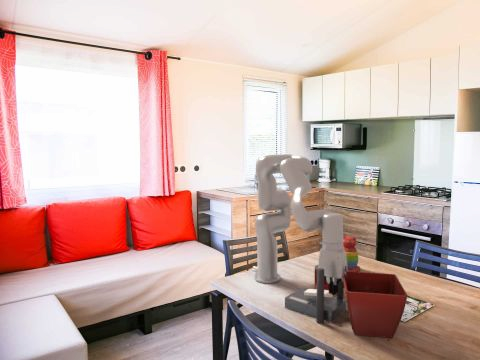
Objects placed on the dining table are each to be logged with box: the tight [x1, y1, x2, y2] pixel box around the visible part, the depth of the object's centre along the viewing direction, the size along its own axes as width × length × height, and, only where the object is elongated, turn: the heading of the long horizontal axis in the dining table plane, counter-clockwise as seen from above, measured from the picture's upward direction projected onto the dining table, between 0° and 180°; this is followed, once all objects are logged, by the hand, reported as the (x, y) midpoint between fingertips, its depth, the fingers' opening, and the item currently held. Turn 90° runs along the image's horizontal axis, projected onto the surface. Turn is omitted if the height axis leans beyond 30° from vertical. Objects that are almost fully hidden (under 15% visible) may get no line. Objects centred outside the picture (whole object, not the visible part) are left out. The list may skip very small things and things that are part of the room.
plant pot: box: [343, 271, 408, 339], centre depth 130 cm, size 19×19×17 cm
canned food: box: [313, 264, 328, 290], centre depth 161 cm, size 8×8×11 cm
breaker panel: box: [284, 287, 347, 324], centre depth 145 cm, size 20×13×6 cm, turn 50°
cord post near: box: [315, 268, 325, 325], centre depth 134 cm, size 3×3×20 cm
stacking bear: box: [343, 235, 361, 272], centre depth 186 cm, size 11×10×18 cm
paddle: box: [304, 288, 337, 298], centre depth 144 cm, size 12×4×1 cm, turn 50°
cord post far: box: [336, 281, 345, 300], centre depth 147 cm, size 3×3×20 cm
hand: (333, 293), depth 140 cm, fingers closed
